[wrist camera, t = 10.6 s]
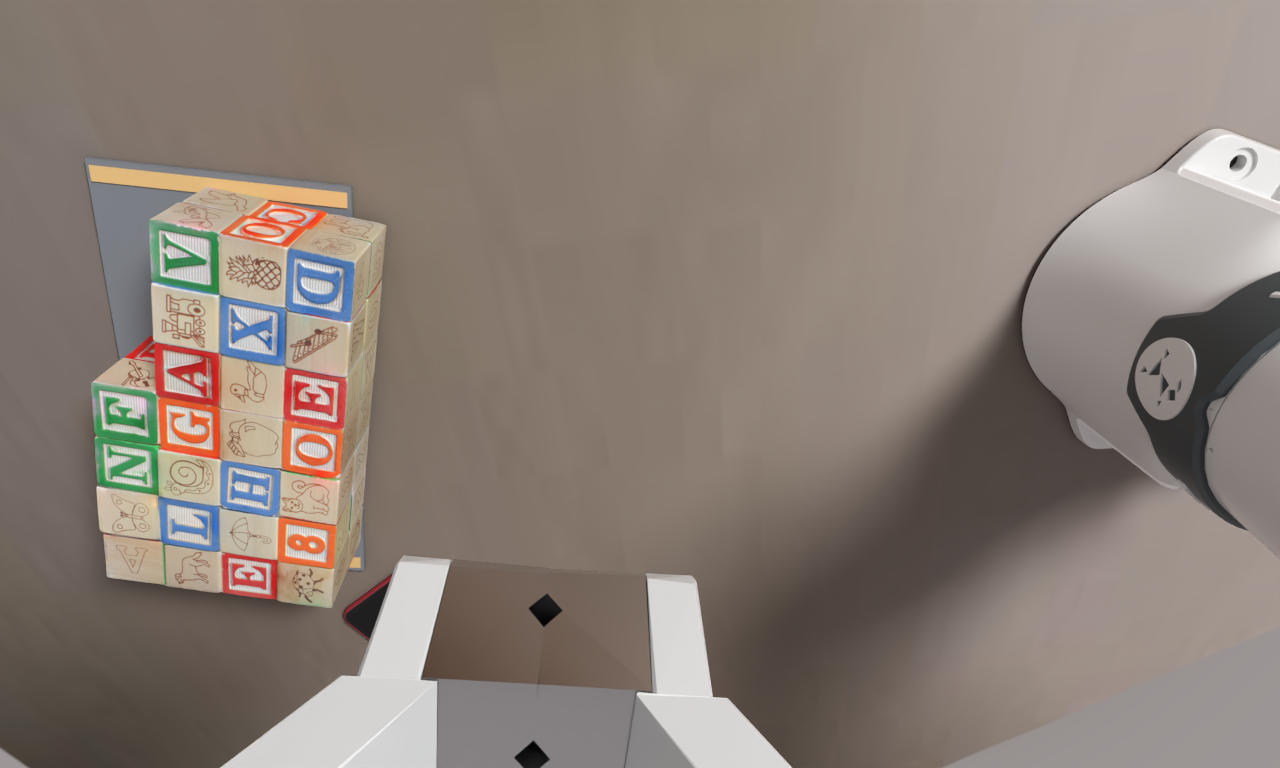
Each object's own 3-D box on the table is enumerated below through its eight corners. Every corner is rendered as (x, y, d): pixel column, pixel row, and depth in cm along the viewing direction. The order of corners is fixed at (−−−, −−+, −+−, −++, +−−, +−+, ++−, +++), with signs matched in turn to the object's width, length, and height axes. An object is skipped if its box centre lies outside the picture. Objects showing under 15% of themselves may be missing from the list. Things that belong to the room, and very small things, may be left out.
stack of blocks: (391, 221, 44) (143, 169, 42) (359, 262, 38) (72, 203, 37) (360, 543, 54) (156, 510, 52) (330, 613, 48) (101, 578, 46)
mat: (352, 185, 44) (350, 188, 43) (365, 567, 55) (363, 572, 54) (87, 156, 42) (83, 158, 42) (156, 552, 54) (153, 557, 53)
